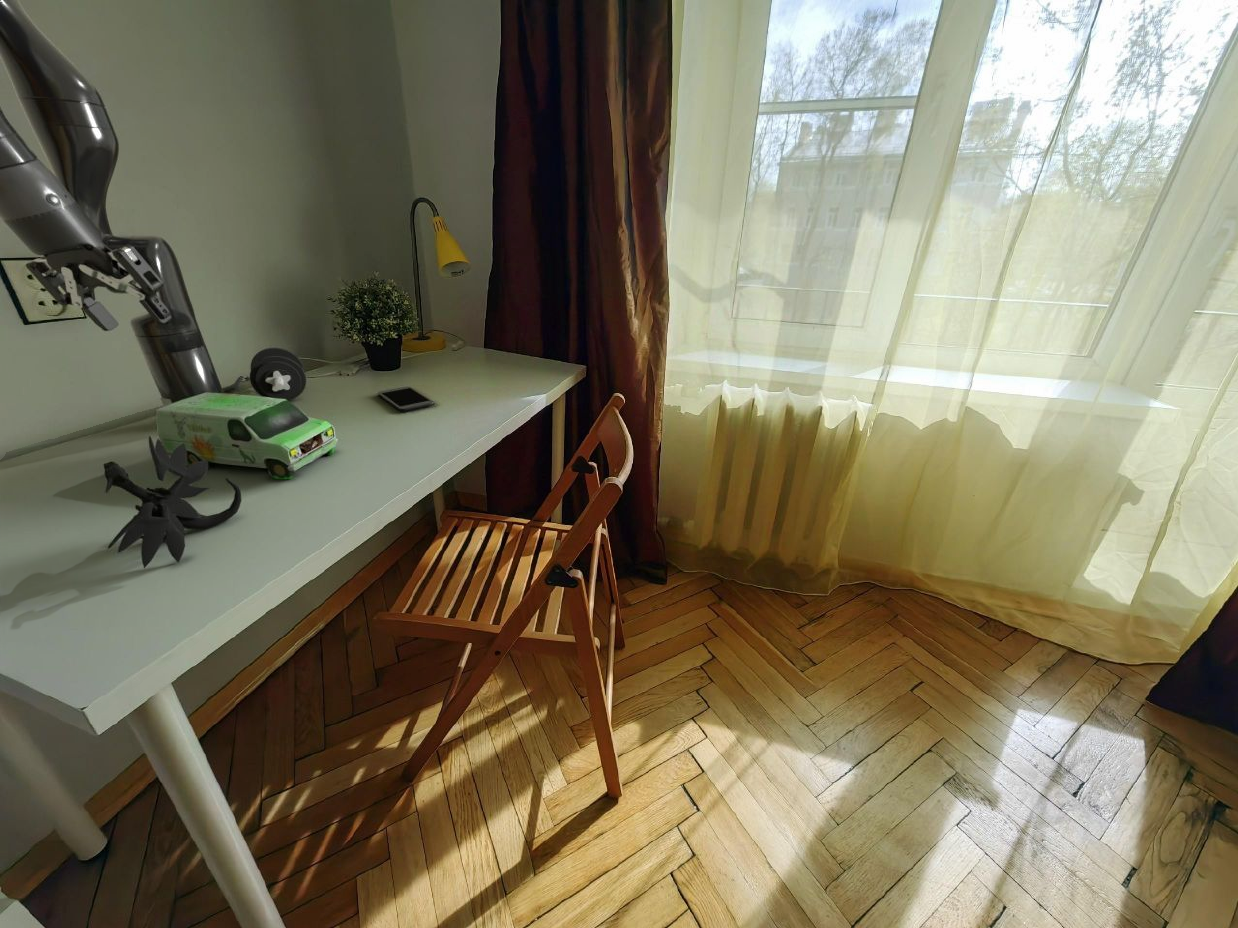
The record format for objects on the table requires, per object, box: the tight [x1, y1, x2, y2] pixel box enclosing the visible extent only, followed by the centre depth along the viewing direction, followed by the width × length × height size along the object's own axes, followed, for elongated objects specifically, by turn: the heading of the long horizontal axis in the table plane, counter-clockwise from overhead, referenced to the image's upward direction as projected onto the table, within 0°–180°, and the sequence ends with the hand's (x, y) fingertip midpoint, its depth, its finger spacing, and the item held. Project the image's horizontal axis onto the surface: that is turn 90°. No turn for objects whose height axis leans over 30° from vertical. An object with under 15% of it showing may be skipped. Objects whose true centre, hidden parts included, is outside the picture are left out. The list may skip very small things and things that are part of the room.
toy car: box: [155, 393, 339, 480], centre depth 80 cm, size 11×25×10 cm, turn 78°
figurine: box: [103, 435, 242, 569], centre depth 59 cm, size 16×13×11 cm
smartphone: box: [377, 386, 435, 412], centre depth 108 cm, size 7×15×1 cm, turn 42°
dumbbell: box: [249, 347, 307, 402], centre depth 108 cm, size 22×10×10 cm, turn 33°
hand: (138, 324), depth 73 cm, fingers open, 8 cm apart
